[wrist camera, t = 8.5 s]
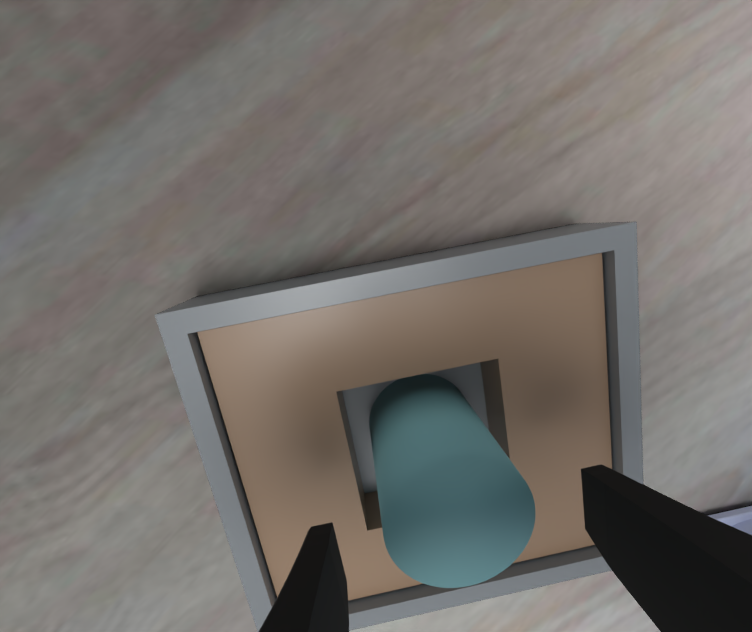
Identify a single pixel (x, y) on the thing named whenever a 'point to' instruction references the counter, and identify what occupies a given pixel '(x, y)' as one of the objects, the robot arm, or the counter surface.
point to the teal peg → (445, 486)
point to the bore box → (405, 359)
